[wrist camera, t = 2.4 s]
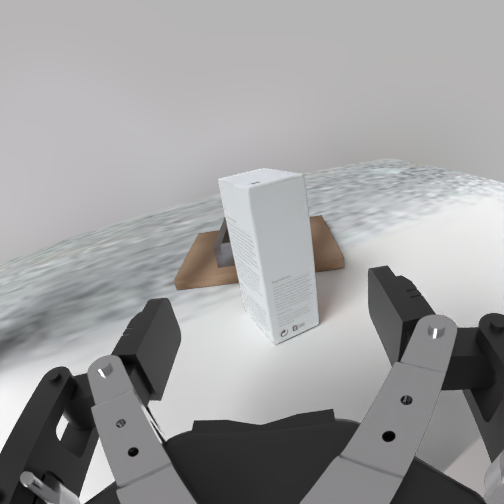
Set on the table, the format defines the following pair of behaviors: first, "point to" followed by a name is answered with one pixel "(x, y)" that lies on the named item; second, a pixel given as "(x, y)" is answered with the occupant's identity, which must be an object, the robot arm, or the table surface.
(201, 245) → the holder
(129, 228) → the table surface
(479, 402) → the robot arm
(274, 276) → the skincare box
